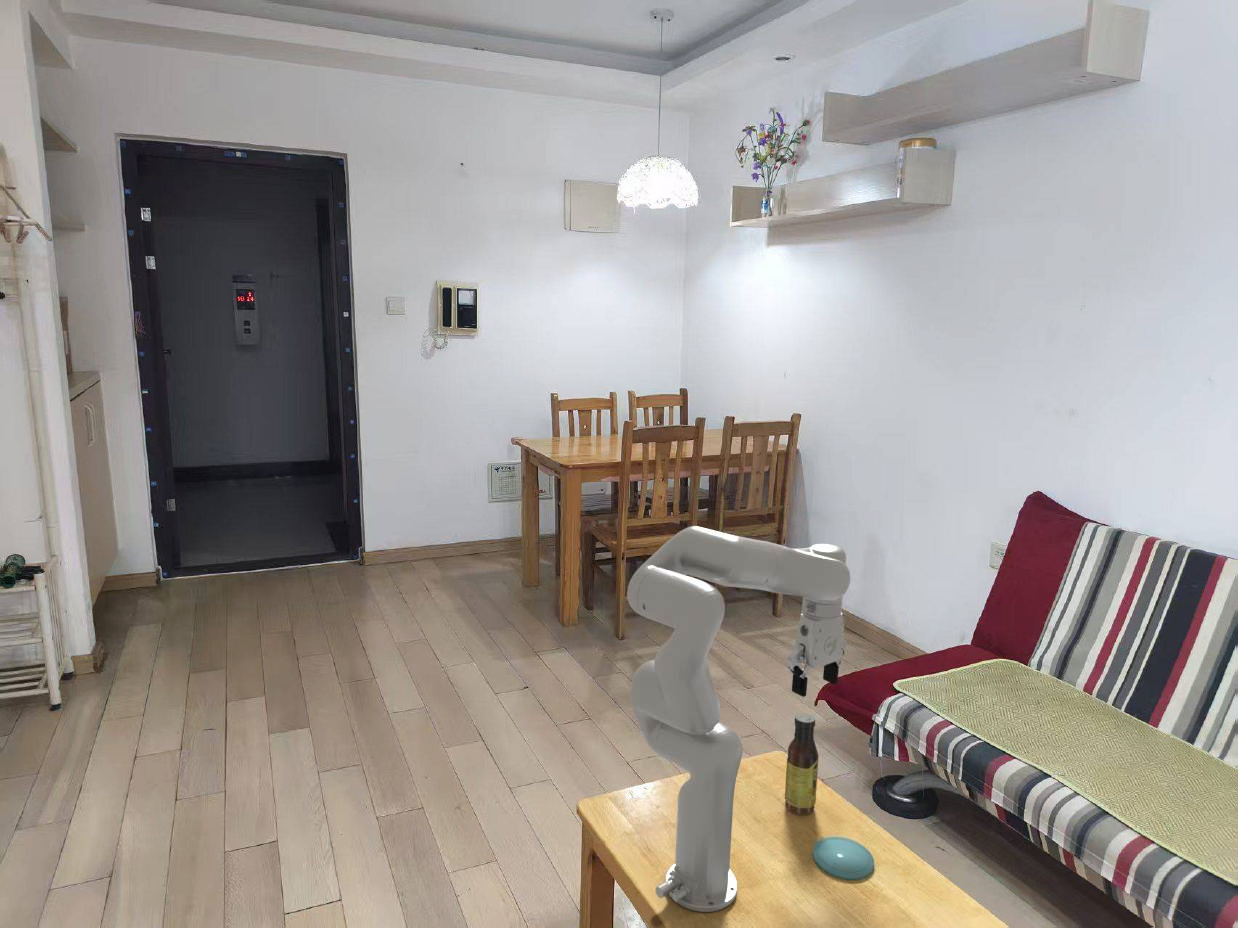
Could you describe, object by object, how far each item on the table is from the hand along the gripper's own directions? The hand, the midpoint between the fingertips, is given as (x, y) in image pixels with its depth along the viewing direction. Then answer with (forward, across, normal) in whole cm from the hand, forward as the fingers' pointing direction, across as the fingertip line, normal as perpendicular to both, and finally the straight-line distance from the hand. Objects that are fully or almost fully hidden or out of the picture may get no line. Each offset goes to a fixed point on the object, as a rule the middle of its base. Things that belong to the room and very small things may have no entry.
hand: (814, 687), depth 162 cm
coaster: (+26, -7, -15) cm, 31 cm away
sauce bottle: (+26, -1, 0) cm, 27 cm away
